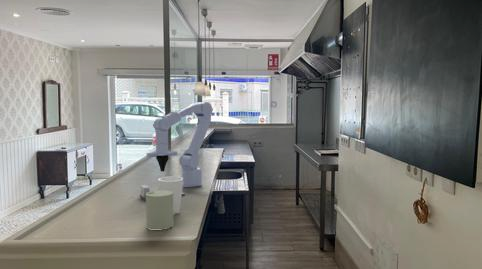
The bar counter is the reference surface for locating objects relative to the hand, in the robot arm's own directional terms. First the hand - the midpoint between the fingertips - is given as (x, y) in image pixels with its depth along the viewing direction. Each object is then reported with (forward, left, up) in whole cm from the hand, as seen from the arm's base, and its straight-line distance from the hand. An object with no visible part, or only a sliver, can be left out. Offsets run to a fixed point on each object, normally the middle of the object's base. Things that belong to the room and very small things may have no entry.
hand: (162, 171), depth 172 cm
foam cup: (+7, +37, -10) cm, 39 cm away
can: (+15, +51, -10) cm, 54 cm away
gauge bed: (+3, +10, -9) cm, 14 cm away
